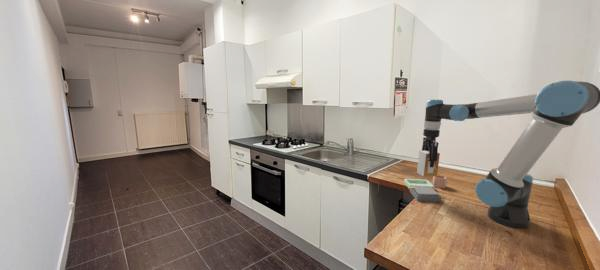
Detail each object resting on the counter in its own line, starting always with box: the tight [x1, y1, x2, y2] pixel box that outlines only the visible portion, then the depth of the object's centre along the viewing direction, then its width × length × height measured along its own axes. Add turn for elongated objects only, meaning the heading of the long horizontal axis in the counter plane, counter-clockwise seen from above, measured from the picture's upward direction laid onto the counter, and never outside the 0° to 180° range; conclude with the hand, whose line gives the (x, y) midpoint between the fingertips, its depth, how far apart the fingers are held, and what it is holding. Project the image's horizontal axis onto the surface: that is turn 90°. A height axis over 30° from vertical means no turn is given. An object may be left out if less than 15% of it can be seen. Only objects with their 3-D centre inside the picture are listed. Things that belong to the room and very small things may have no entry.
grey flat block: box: [409, 187, 442, 203], centre depth 137 cm, size 12×12×4 cm
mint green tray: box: [403, 178, 435, 190], centre depth 151 cm, size 11×14×2 cm
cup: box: [431, 174, 448, 189], centre depth 152 cm, size 7×7×6 cm
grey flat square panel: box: [413, 186, 440, 196], centre depth 136 cm, size 10×10×1 cm
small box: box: [416, 150, 441, 178], centre depth 134 cm, size 8×6×13 cm
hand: (427, 170), depth 134 cm, fingers closed on small box, 7 cm apart
